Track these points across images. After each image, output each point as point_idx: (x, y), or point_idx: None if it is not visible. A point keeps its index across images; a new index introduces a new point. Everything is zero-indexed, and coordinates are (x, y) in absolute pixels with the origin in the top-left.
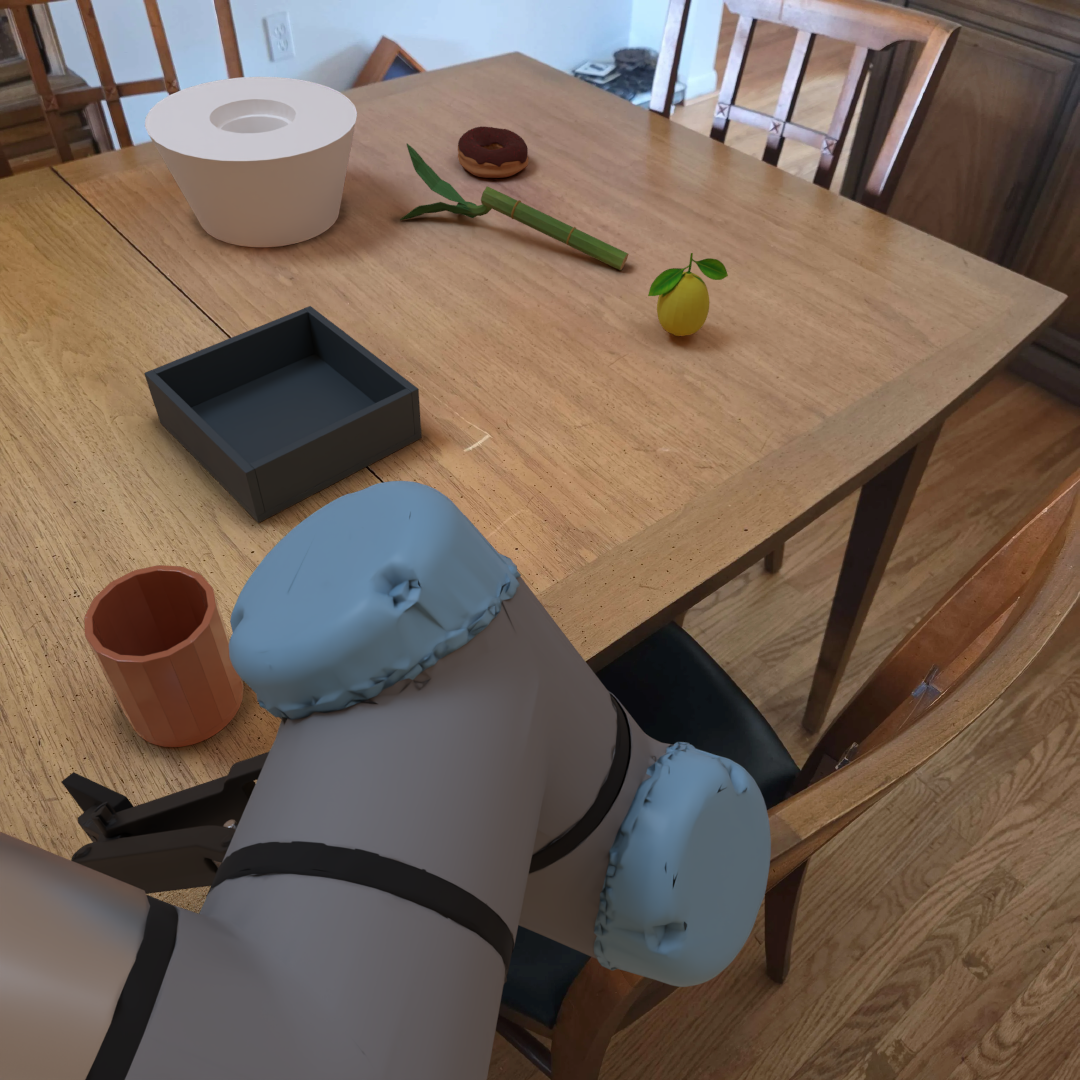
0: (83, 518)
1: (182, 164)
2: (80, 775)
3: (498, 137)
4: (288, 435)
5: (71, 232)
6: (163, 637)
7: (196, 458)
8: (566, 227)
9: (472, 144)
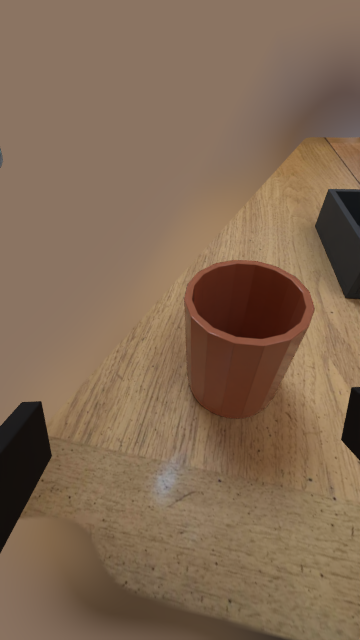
0: (248, 248)
1: None
2: (28, 416)
3: None
4: None
5: (319, 154)
6: (243, 326)
7: (325, 247)
8: None
9: None
